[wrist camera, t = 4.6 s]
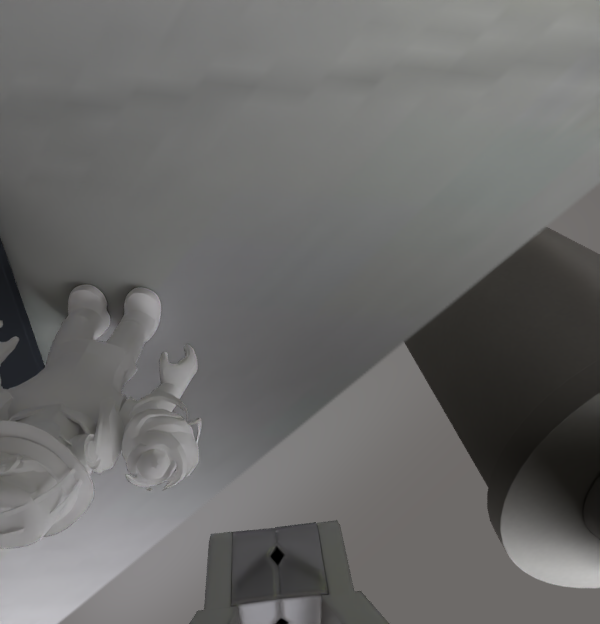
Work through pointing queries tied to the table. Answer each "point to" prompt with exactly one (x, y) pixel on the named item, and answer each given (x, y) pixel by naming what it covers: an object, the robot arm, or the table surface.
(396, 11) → the table surface
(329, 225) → the table surface
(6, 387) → the mat
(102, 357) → the cartoon character statuette
